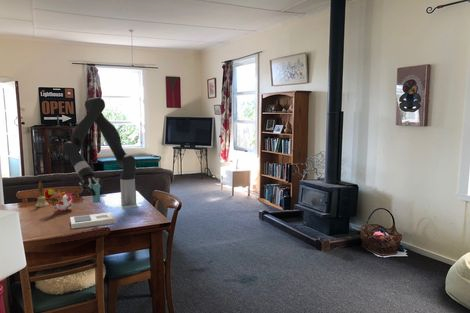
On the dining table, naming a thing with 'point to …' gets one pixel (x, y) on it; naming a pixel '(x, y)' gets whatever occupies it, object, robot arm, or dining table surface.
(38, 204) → the hand bell
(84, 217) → the slate pad
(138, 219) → the dining table surface
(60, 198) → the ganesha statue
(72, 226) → the well board
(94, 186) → the teal block
